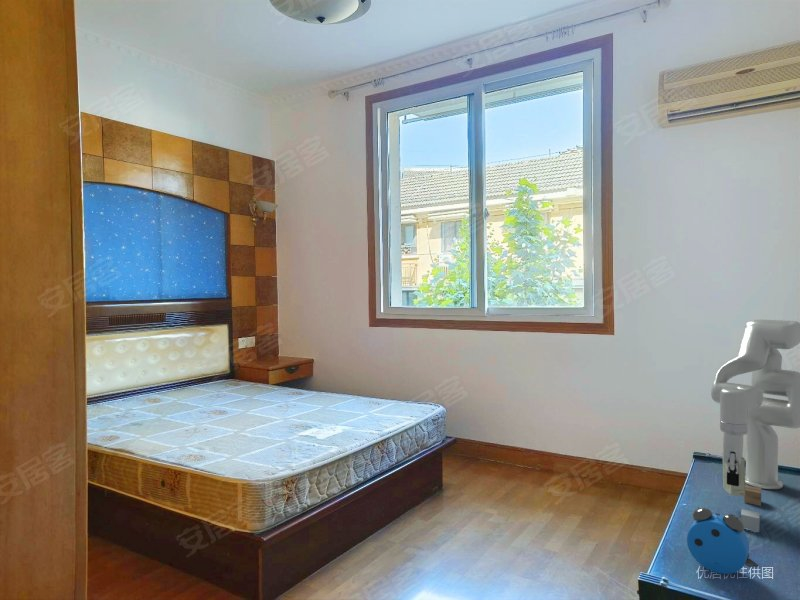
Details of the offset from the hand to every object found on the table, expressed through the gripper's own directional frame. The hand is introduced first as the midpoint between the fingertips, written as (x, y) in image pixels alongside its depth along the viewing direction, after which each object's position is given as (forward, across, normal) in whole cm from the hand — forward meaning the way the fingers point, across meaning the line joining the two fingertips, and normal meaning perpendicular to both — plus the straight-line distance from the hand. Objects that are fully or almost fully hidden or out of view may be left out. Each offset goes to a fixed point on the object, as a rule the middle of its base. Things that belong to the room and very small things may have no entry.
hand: (733, 480), depth 164 cm
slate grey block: (+10, +12, +5) cm, 16 cm away
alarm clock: (+9, +43, -1) cm, 44 cm away
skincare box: (+4, 0, 0) cm, 4 cm away
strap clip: (+9, +33, +4) cm, 34 cm away
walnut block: (+10, -10, +5) cm, 15 cm away
